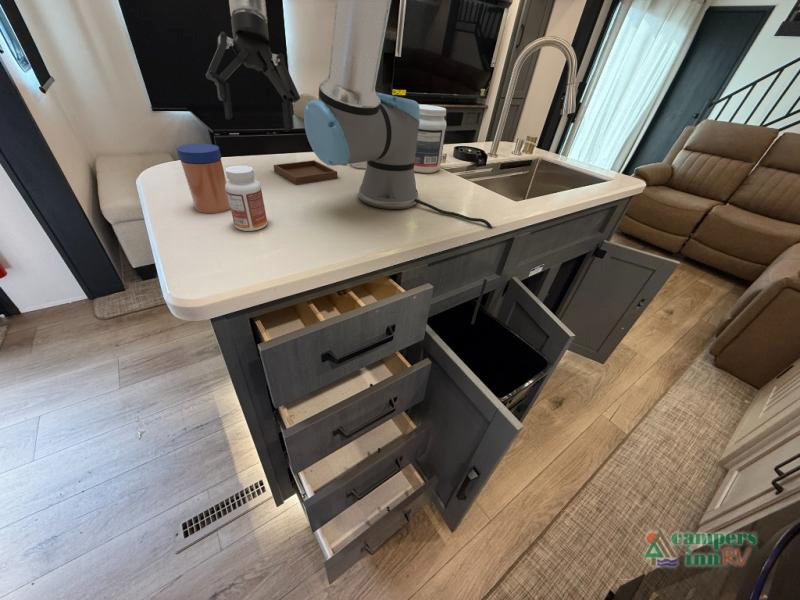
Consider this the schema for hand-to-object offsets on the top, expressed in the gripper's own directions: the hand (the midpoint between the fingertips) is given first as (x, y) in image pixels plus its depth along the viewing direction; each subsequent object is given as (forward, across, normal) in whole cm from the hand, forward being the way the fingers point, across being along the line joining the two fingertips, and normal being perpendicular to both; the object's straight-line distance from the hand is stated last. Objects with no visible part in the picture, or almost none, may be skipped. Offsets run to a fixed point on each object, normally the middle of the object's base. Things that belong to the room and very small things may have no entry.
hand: (260, 124), depth 76 cm
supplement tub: (+4, -53, +2) cm, 53 cm away
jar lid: (+9, +15, +5) cm, 18 cm away
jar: (+19, +12, 0) cm, 23 cm away
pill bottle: (+24, +9, +12) cm, 28 cm away
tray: (+8, -16, -10) cm, 20 cm away
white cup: (+3, -36, -9) cm, 37 cm away
